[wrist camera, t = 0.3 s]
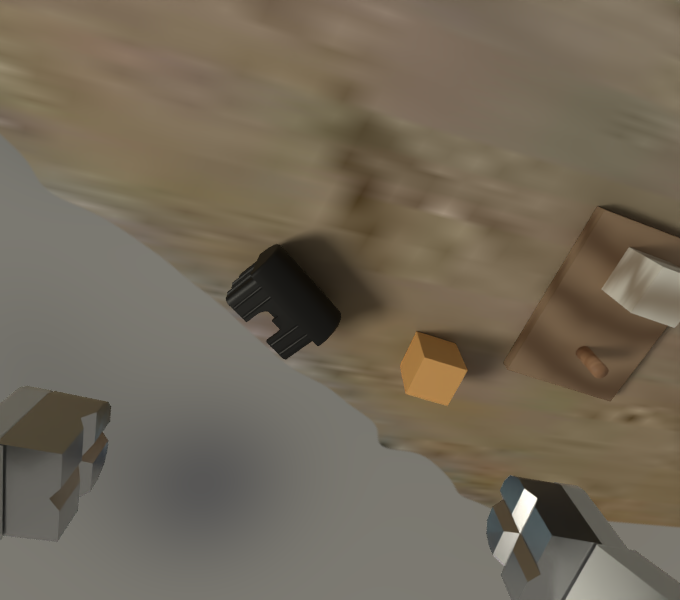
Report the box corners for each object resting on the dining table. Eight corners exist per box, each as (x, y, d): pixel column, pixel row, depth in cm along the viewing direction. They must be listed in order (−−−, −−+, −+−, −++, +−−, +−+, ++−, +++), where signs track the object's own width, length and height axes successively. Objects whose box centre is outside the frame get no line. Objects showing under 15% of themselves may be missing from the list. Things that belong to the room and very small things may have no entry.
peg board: (597, 206, 46) (637, 226, 40) (711, 249, 48) (767, 274, 42) (503, 362, 54) (524, 399, 48) (603, 393, 56) (637, 433, 50)
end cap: (342, 300, 51) (342, 330, 45) (294, 335, 53) (288, 368, 47) (282, 233, 48) (274, 256, 41) (234, 273, 49) (219, 300, 43)
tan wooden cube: (416, 331, 52) (424, 357, 47) (455, 343, 53) (467, 370, 48) (399, 365, 54) (405, 393, 50) (437, 376, 55) (447, 405, 50)
